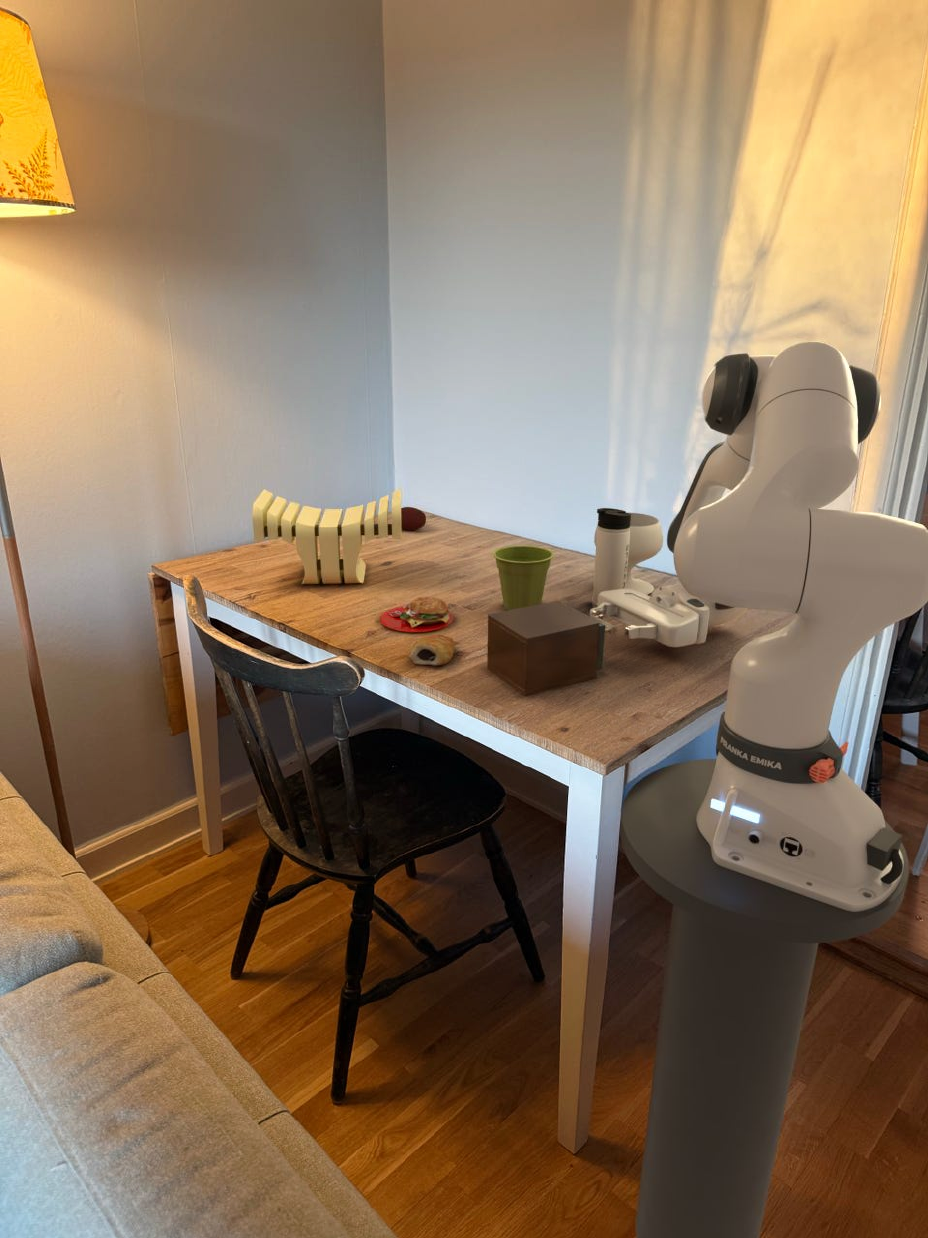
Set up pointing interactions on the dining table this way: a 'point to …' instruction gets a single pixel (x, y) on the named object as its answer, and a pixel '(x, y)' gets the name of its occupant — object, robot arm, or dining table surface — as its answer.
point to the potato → (412, 518)
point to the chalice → (642, 547)
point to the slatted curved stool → (326, 534)
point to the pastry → (433, 650)
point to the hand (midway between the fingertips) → (609, 623)
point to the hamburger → (418, 615)
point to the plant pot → (522, 574)
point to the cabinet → (542, 647)
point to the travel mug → (611, 551)
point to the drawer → (601, 637)
